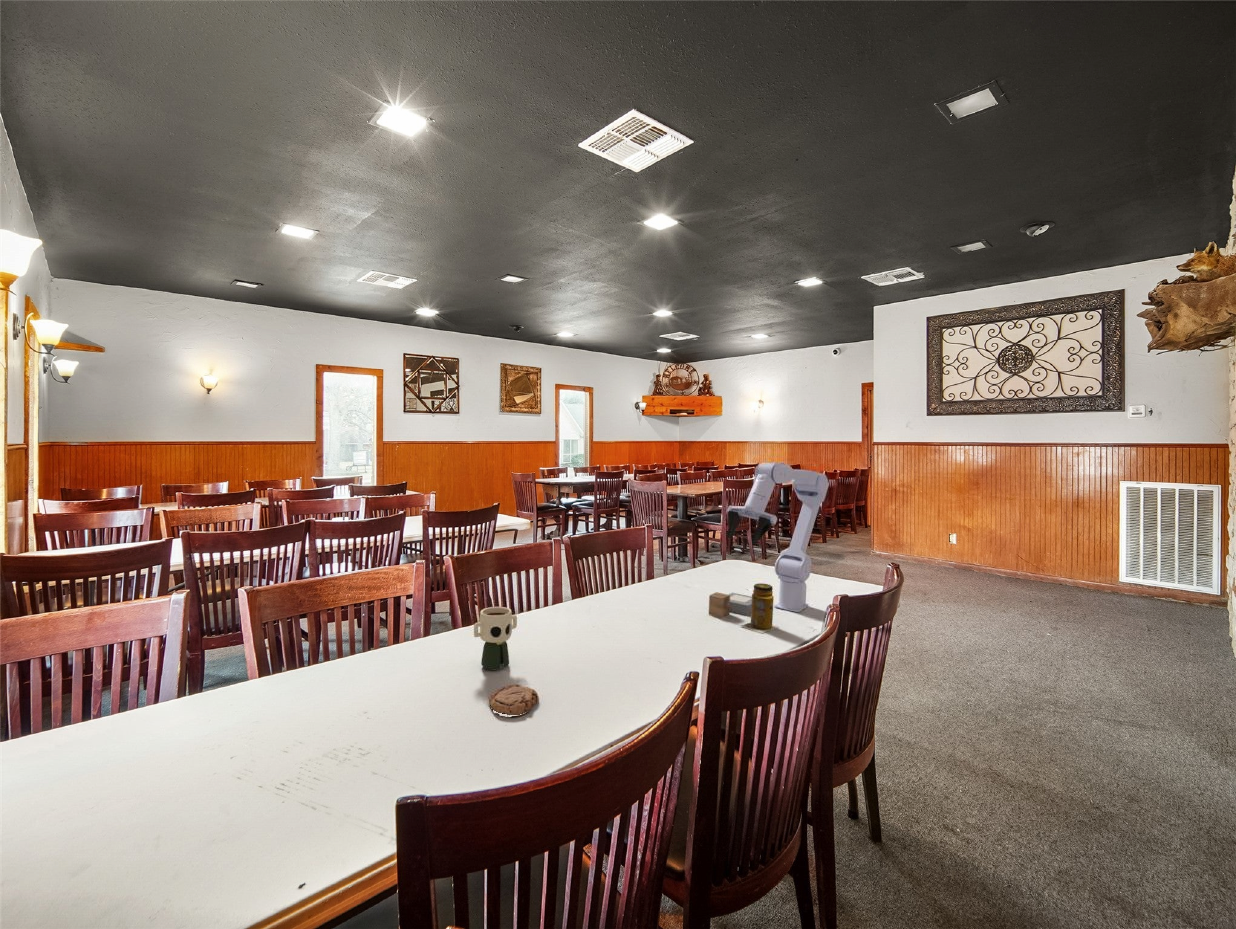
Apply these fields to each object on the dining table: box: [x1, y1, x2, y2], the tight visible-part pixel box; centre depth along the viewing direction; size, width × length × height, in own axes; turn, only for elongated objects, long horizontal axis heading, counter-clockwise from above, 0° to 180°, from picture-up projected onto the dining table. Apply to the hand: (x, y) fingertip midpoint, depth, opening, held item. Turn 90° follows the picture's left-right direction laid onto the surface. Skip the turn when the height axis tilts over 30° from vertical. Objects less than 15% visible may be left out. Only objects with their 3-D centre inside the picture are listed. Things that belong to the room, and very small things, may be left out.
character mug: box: [473, 606, 518, 671], centre depth 135 cm, size 11×7×13 cm, turn 131°
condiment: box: [740, 583, 779, 634], centre depth 168 cm, size 7×8×12 cm
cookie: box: [487, 683, 540, 715], centre depth 117 cm, size 10×11×3 cm
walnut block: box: [708, 592, 731, 619], centre depth 178 cm, size 5×5×6 cm
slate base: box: [728, 592, 752, 616], centre depth 185 cm, size 10×10×3 cm
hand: (741, 539), depth 166 cm, fingers open, 7 cm apart
